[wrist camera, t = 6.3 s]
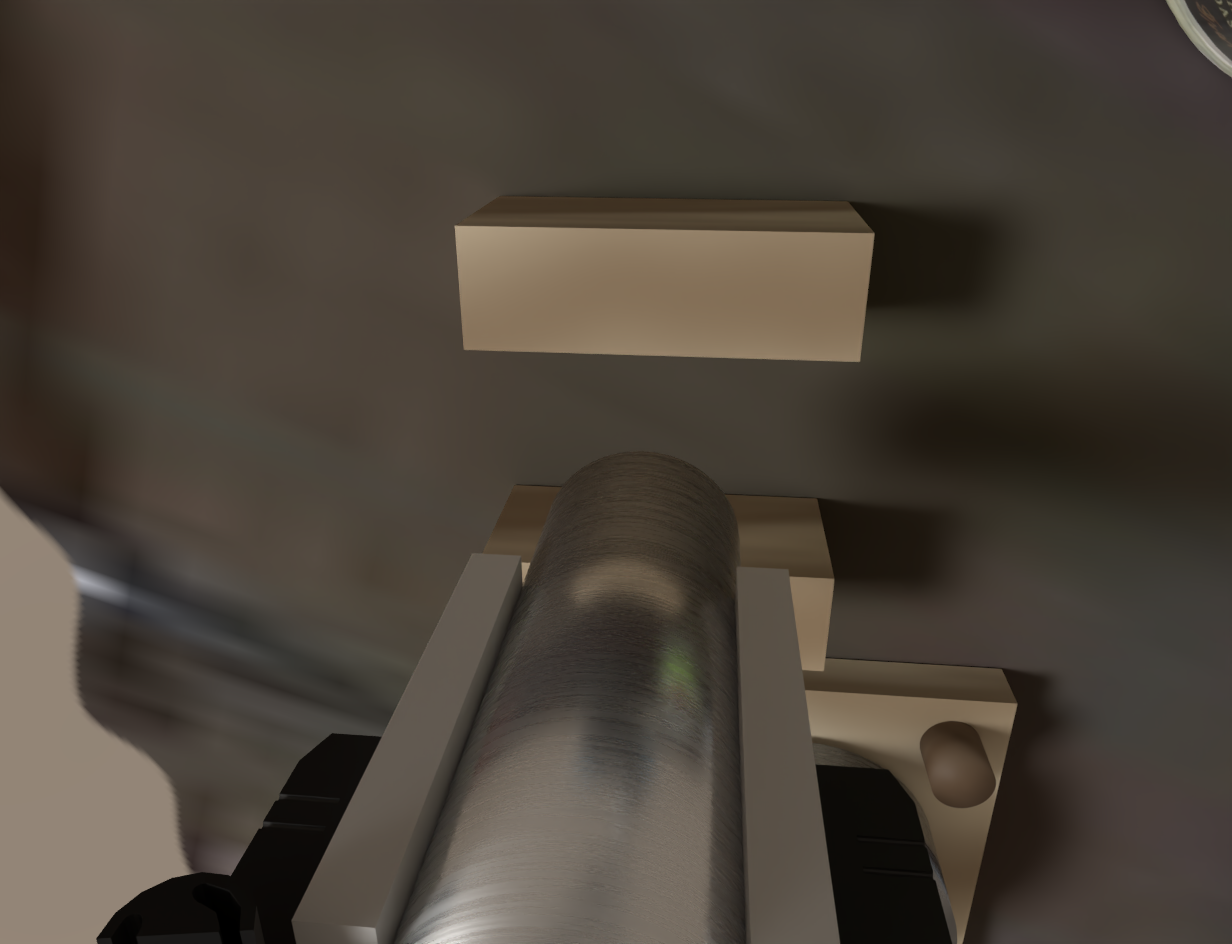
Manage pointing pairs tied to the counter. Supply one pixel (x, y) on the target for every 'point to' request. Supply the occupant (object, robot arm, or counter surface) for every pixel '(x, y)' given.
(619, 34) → the counter surface
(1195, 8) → the coffee can
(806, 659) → the slot rails
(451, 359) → the counter surface
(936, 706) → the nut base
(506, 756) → the pin
